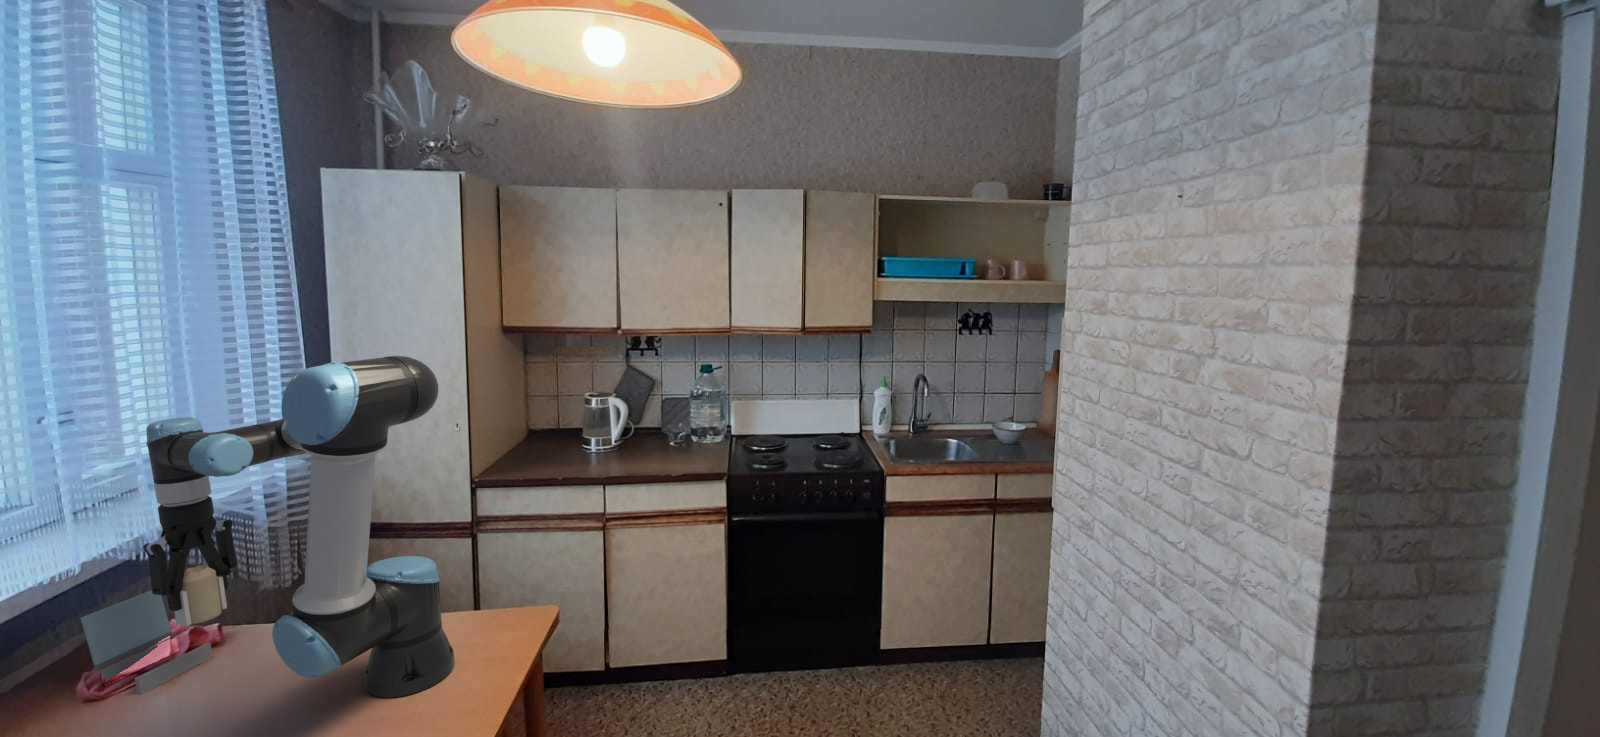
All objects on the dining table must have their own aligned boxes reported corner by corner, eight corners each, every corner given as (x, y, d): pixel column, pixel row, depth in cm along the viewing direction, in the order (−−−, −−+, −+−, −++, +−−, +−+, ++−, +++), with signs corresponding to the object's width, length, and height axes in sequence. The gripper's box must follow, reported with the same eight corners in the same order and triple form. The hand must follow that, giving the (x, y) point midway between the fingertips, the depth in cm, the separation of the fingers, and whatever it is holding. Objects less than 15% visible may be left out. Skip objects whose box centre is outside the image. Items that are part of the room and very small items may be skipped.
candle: (198, 625, 123) (191, 575, 122) (175, 623, 124) (167, 573, 123) (229, 611, 129) (222, 562, 127) (206, 609, 130) (199, 561, 128)
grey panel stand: (212, 657, 133) (210, 643, 132) (140, 694, 121) (138, 678, 121) (176, 650, 135) (174, 636, 135) (102, 685, 124) (100, 670, 123)
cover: (159, 588, 134) (156, 588, 134) (83, 617, 122) (80, 617, 123) (172, 636, 135) (169, 637, 135) (98, 670, 123) (95, 670, 124)
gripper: (222, 484, 133) (238, 591, 136) (109, 516, 115) (129, 639, 118) (251, 486, 131) (266, 595, 134) (140, 519, 114) (160, 643, 117)
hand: (202, 615), depth 126 cm, fingers closed on candle, 5 cm apart
